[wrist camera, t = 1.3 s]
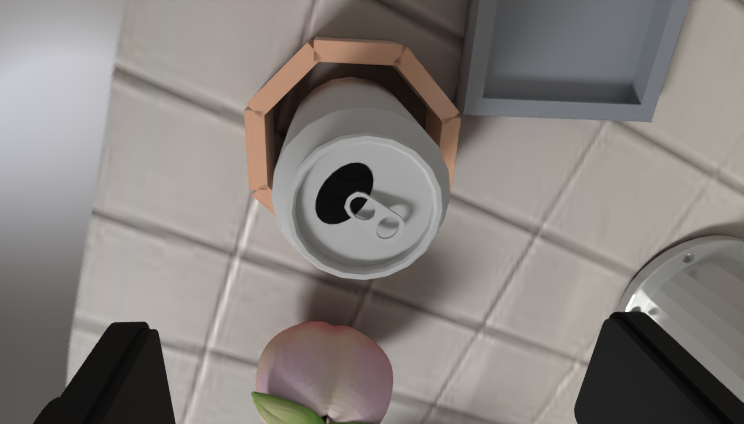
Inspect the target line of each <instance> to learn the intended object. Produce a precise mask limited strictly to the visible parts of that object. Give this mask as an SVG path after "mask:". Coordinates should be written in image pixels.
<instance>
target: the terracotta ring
mask: <svg viewBox="0 0 744 424" xmlns="http://www.w3.org/2000/svg"><path fill="white" fill-rule="evenodd" d="M318 62H334V63H355V64H375V65H392V66H393V67H394V69H395V70H396V71H397V72H398V73H399V75H400V76H401V77H402V78H403V79H404V81H405V82H406V83H407V84H408V85H409V87H410V88H411V89H412V90H413V91H414V93H415V94H416V95H417V96H418V97H419V99H420V100H421V101H422V102H423V104H424V105H425V106H426V107H427V113H426V123H425V131H426V133H427V134H428V135H429V136H430V137H431V138H432V140H433V141H434V142H435V143H436V144H437V145H438V147H439V149H440V151H441V154H442V156H443V158H444V161H445V163H446V166H447V168H448V170H449V184H450V193H451V187H452V180H453V173H454V166H455V158H456V151H457V144H458V137H459V130H460V123H461V118H460V117H459V116H458V115H457V114H458V113H460V112H459V111H458V110H457V108H456V107H455V106H454V105H453V103H452V102H451V101H450V100H449V98H448V97H447V96H446V95H445V93H444V92H443V91H442V90H441V88H440V87H439V86H438V85H437V83H436V82H435V81H434V80H433V78H432V77H431V76H430V75H429V73H428V72H427V71H426V70H425V68H424V67H423V66H422V65H421V63H420V62H419V61H418V60H417V58H416V57H415V56H414V55H413V53H412V52H411V51H410V50H409V48H407V47H404V46H402V45H401V44H399V43H396V42H393V41H384V40H366V39H348V38H331V37H315V39H314V42H313V41H312V40H311V39H310V40H309V41H308V42H307V43H306V44H305V45H304V46H303V47H302V48H301V49H300V50H299V51H298V52H297V53H296V54H295V55H294V56H293V57H292V58H291V59H290V60H289V61H288V62H287V63H286V64H285V65H284V66H283V67H282V68H281V69H280V70H279V71H278V72H277V73H276V74H275V75H274V76H273V77H272V78H271V79H270V80H269V81H268V82H267V83H266V84H265V85H264V86H263V87H262V88H261V89H260V90H259V91H258V92H257V93H256V94H255V95H254V97H253V98H252V99H251V100H250V101H249V102H248V103H247V105H248V106H247V108H246V109H245V110H244V116H245V132H246V147H247V162H248V178H249V190H254V192H253V194H252V196H253V197H255V198H256V199H257V200H258V201H259V202H260V203H262V204H263V205H264V206H265V207H266V208H267V209H268V210H270V211H271V212H272V213H273V214H274V215H275V211H274V207H273V203H272V199H271V198H272V188H273V177H274V171H275V168H276V164H275V143H274V116H273V106H274V105H275V104H276V103H277V102H278V101H279V100H280V99H281V98H282V97H283V96H284V95H285V94H286V93H287V92H288V91H289V90H290V89H291V88H292V87H293V86H294V85H295V84H296V83H297V82H298V81H299V80H300V79H301V78H302V77H304V76H305V75H306V74H307V73H308V72H309V71H310V70H311V69H312V68H313V67H314V66H315V65H316V64H317V63H318ZM275 216H276V215H275Z"/></svg>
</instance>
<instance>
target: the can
mask: <svg viewBox="0 0 744 424" xmlns="http://www.w3.org/2000/svg"><path fill="white" fill-rule="evenodd" d="M271 199H272V203H273V207H274V211H275V215H276V219H277V223H278V225H279V227H280V228H281V230H282V232H283V233H284V235H285V236H286V238H287V239H288V241H289V242H290V244H291V245H292V246H293V247H294V248H295V249H296V250H298V251H299V252H300V253H301V255H302V256H304V257H305V258H306V259H307V260H309V261H310V262H311V263H312V264H314V265H315V266H316V267H317V268H319V269H321V270H323V271H326V272H328V273H331V274H333V275H336V276H338V277H341V278H350V279H359V280H367V279H373V278H379V277H385V276H389V275H391V274H393V273H395V272H397V271H399V270H402V269H404V268H406V267H408V266H409V265H411V264H412V263H413V262H414V261H415V260H416V259H418V258H419V257H420V256H421V255H422V254H423V253H425V252H426V251H427V249H428V247H429V246H430V244H431V243H432V241H433V240H434V238H435V237H436V235H437V234H438V232H439V228H440V226H441V224H442V223H443V221H444V218H445V214H446V210H447V207H448V203H449V199H450V184H449V170H448V168H447V166H446V163H445V161H444V158H443V156H442V154H441V151H440V149H439V147H438V145H437V144H436V143H435V142H434V141H433V140H432V138H431V137H430V136H429V135H428V134H427V133H426V131H425V130H424V129H423V128H422V127H421V126H420V125H419V123H418V122H417V121H416V120H415V119H414V118H413V116H412V115H411V114H410V113H409V112H408V111H407V110H406V108H405V107H404V106H403V105H402V104H401V103H400V102H399V100H398V99H397V98H396V97H395V96H394V95H393V94H392V93H391V92H390V91H389V90H388V89H387V88H385V87H383V86H381V85H379V84H377V83H376V82H374V81H372V80H368V79H363V78H357V77H345V78H338V79H331V80H330V81H328V82H326V83H324V84H322V85H320V86H318V87H316V88H314V89H313V90H312V91H311V92H310V93H309V94H308V95H307V96H306V97H305V98H304V99H303V100H302V101H301V102H300V104H299V106H298V108H297V110H296V112H295V114H294V117H293V119H292V121H291V124H290V127H289V130H288V133H287V136H286V138H285V141H284V144H283V147H282V150H281V153H280V156H279V159H278V162H277V165H276V168H275V171H274V177H273V188H272V198H271Z"/></svg>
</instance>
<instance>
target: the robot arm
mask: <svg viewBox="0 0 744 424" xmlns="http://www.w3.org/2000/svg"><path fill="white" fill-rule="evenodd" d="M574 413H575V418H576V421H577V423H578V424H744V240H743V239H740V238H737V237H732V236H728V235H712V236H706V237H700V238H696V239H693V240H690V241H687V242H684V243H681V244H679V245H677V246H675V247H673V248H671V249H669V250H667V251H665V252H664V253H663V254H661V255H660V256H658V257H657V258H655V259H654V260H652V261H651V262H650V263H649V264H648V265H647V266H646V267H644V268H643V269H642V270H641V271H640V272H639V274H638V275H637V276H636V277H635V278H634V279H633V281H632V282H631V283H630V285H629V286H628V288H627V290H626V291H625V293H624V295H623V297H622V300H621V302H620V304H619V307H618V312H614V313H612V314H611V315H610V317H609V319H606V320H605V321H604V323H603V325H602V328H601V331H600V334H599V337H598V339H597V342H596V345H595V348H594V351H593V354H592V357H591V360H590V363H589V366H588V369H587V372H586V374H585V377H584V380H583V383H582V386H581V389H580V392H579V395H578V398H577V401H576V404H575V408H574ZM33 424H176V423H175V418H174V412H173V407H172V402H171V396H170V391H169V386H168V380H167V375H166V370H165V364H164V359H163V354H162V348H161V343H160V338H159V333H158V331H157V330H156V329H150V328H149V325H148V324H147V323H146V322H114V323H112V324H111V325H110V326H109V327H108V328H107V330H106V331H105V332H104V334H103V335H102V337H101V338H100V340H99V341H98V343H97V344H96V345H95V347H94V348H93V350H92V351H91V353H90V354H89V356H88V357H87V359H86V360H85V361H84V363H83V364H82V366H81V367H80V369H79V370H78V372H77V373H76V374H75V376H74V377H73V379H72V380H71V382H70V383H69V385H68V386H67V387H66V389H65V390H64V392H63V393H62V395H61V397H57V398H55V399H53V400H52V401H50V402H49V403H48V404H47V406H46V407H45V408H44V409H43V410H42V412H41V413H40V414H39V416H38V417H37V419H36V420H35V421H34V423H33Z"/></svg>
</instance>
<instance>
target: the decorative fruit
mask: <svg viewBox="0 0 744 424" xmlns="http://www.w3.org/2000/svg"><path fill="white" fill-rule="evenodd" d="M392 388H393V371H392V366H391V364H390V361H389V359H388V357H387V355H386V354H385V352H384V351H383V350H382V349H381V347H380V346H379V345H378V344H376V343H375V342H374V341H373V340H372V339H370V338H369V337H367V336H366V335H364V334H363V333H361V332H359V331H358V330H356V329H354V328H351V327H348V326H344V325H338V326H333V325H331V324H329V323H327V322H323V321H311V322H305V323H301V324H298V325H295V326H292V327H290V328H288V329H286V330H284V331H282V332H281V333H279V334H278V335H276V336H275V337H274V338H273V339H272V340H271V341H270V342H269V343H268V344H267V346H266V347H265V349H264V351H263V352H262V354H261V357H260V360H259V364H258V370H257V377H256V392H252V393H251V395H252V397H253V400H254V403H255V405H256V407H257V410H258V412H259V415H260V417H261V420H262V422H263V424H380V422H381V421H382V419H383V417H384V416H385V414H386V412H387V409H388V406H389V404H390V400H391V395H392Z"/></svg>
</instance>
